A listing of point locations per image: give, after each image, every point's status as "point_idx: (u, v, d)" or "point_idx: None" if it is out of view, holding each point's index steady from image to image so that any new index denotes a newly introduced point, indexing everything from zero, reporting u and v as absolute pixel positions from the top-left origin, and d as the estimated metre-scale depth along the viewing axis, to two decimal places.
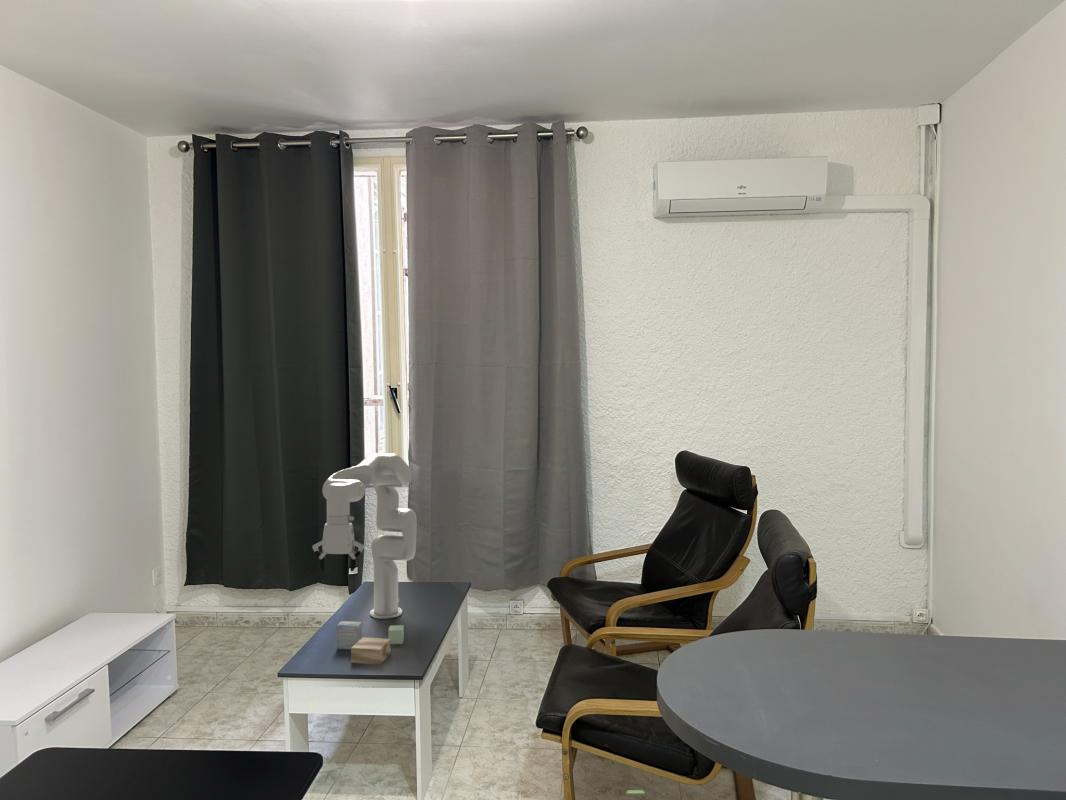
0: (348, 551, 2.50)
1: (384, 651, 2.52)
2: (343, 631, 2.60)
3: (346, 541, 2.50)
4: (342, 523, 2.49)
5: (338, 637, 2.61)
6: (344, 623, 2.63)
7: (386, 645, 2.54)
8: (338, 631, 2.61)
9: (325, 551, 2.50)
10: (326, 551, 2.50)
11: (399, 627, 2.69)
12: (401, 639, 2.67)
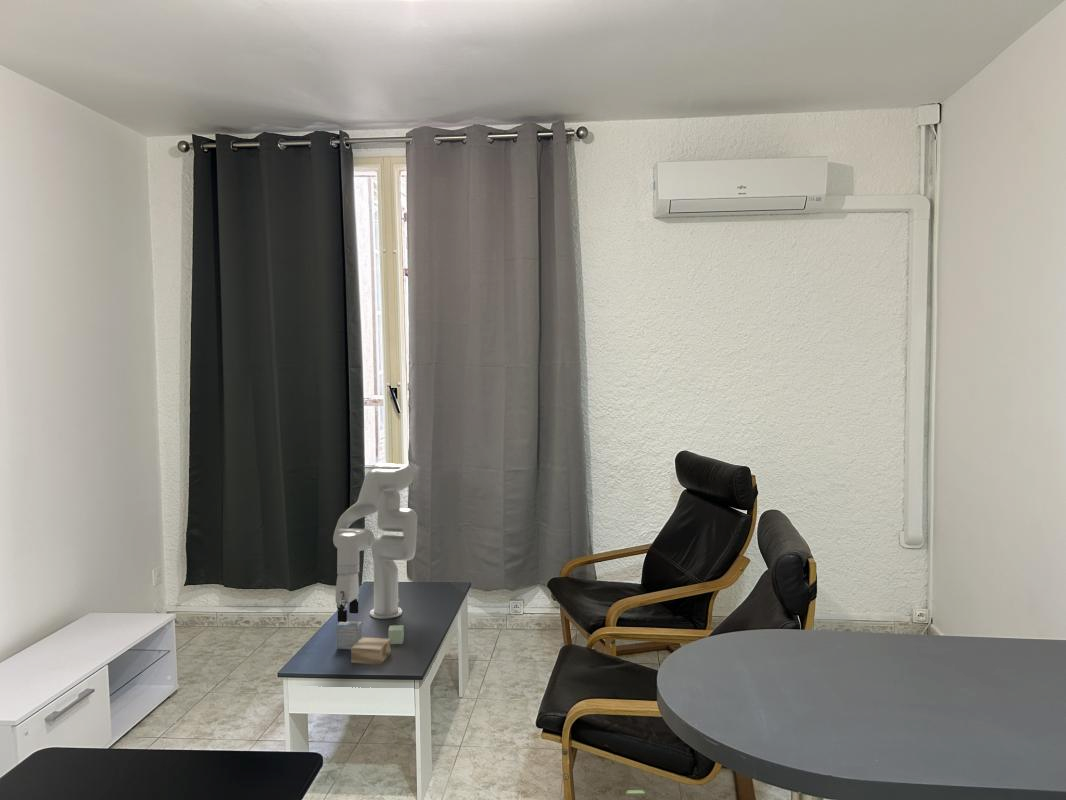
0: (358, 595, 2.65)
1: (384, 651, 2.52)
2: (343, 631, 2.60)
3: (358, 585, 2.64)
4: None
5: (338, 637, 2.61)
6: (344, 623, 2.63)
7: (386, 645, 2.54)
8: (338, 631, 2.61)
9: (349, 601, 2.57)
10: (349, 601, 2.57)
11: (399, 627, 2.69)
12: (401, 639, 2.67)
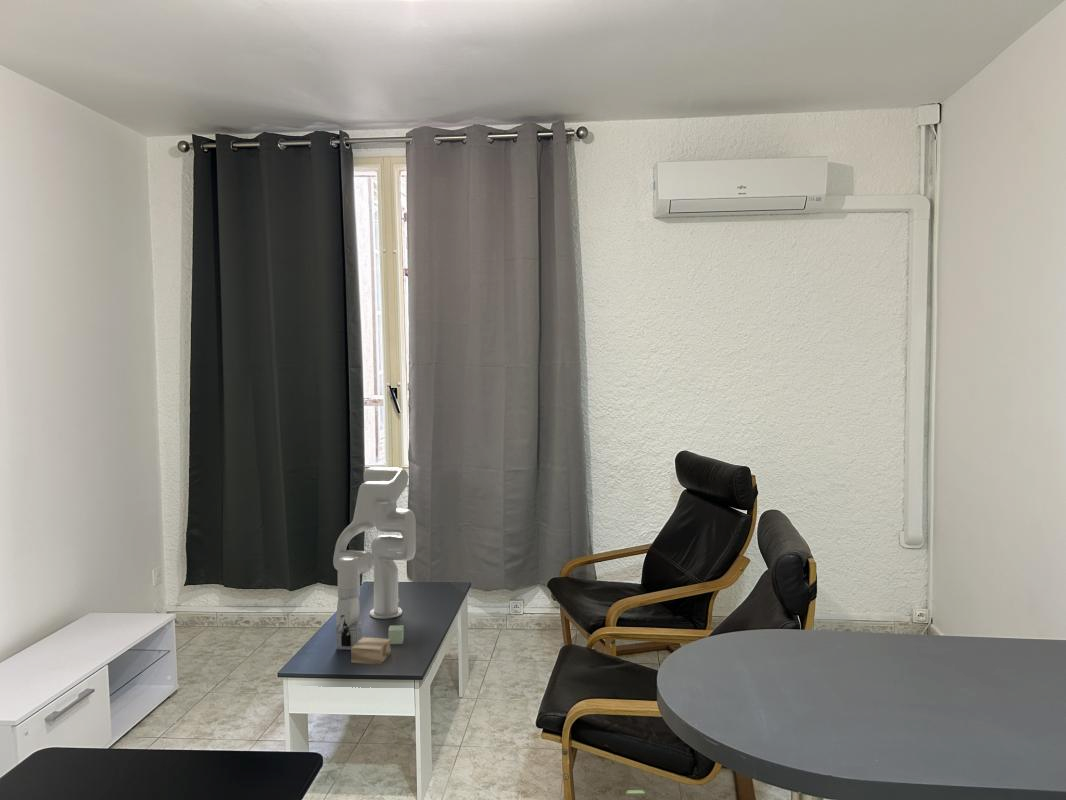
0: (358, 617, 2.66)
1: (384, 651, 2.52)
2: None
3: (358, 608, 2.65)
4: None
5: (337, 637, 2.61)
6: None
7: (386, 645, 2.54)
8: (337, 631, 2.60)
9: (350, 624, 2.58)
10: (350, 624, 2.58)
11: (399, 627, 2.69)
12: (401, 639, 2.67)
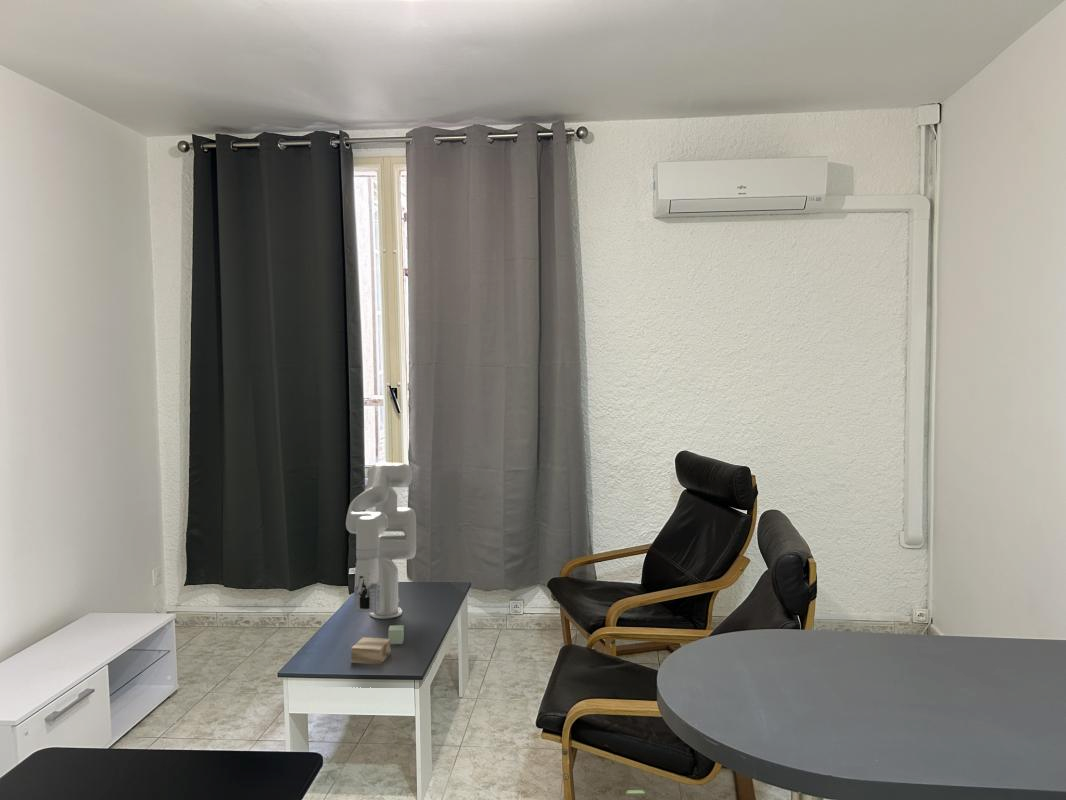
0: (377, 580, 2.57)
1: (384, 651, 2.52)
2: None
3: (377, 570, 2.56)
4: None
5: (356, 599, 2.52)
6: None
7: (386, 645, 2.54)
8: (356, 593, 2.52)
9: (368, 586, 2.49)
10: (369, 586, 2.50)
11: (399, 627, 2.69)
12: (401, 639, 2.67)
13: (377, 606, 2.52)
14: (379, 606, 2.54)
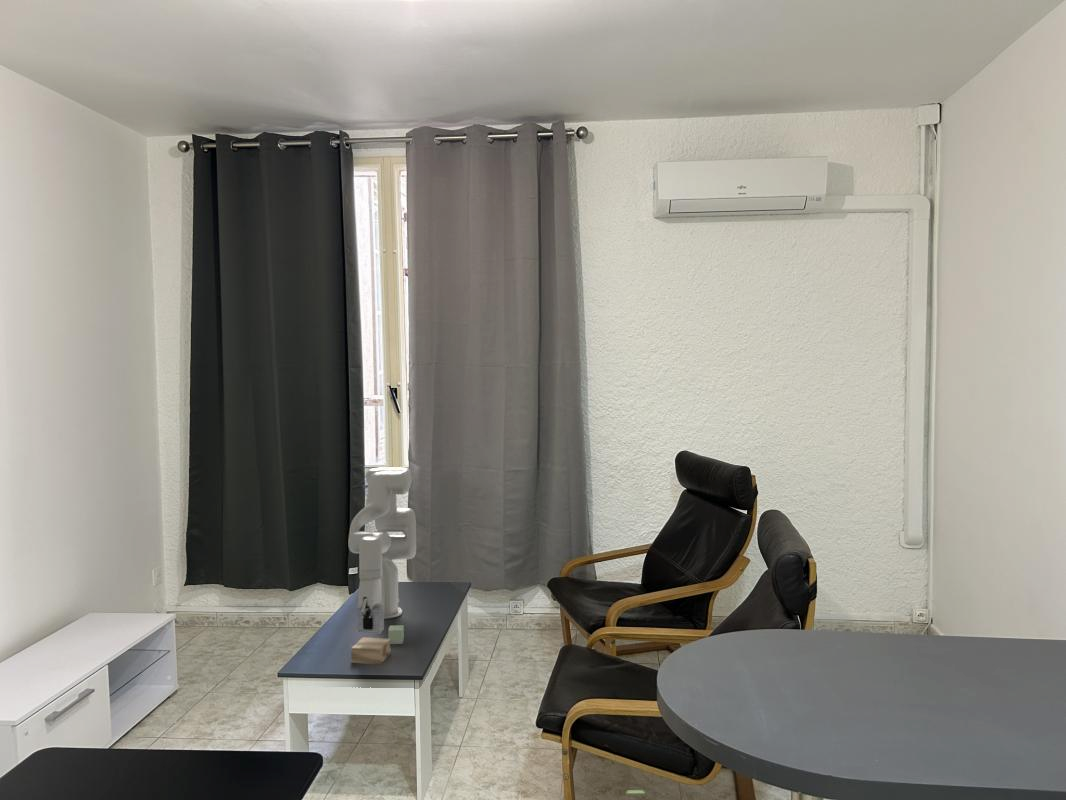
0: (380, 600, 2.56)
1: (384, 651, 2.52)
2: None
3: (380, 590, 2.55)
4: None
5: (359, 620, 2.51)
6: None
7: (386, 645, 2.54)
8: (359, 614, 2.51)
9: (372, 607, 2.49)
10: (372, 606, 2.49)
11: (399, 627, 2.69)
12: (401, 639, 2.67)
13: (381, 626, 2.52)
14: (382, 626, 2.53)
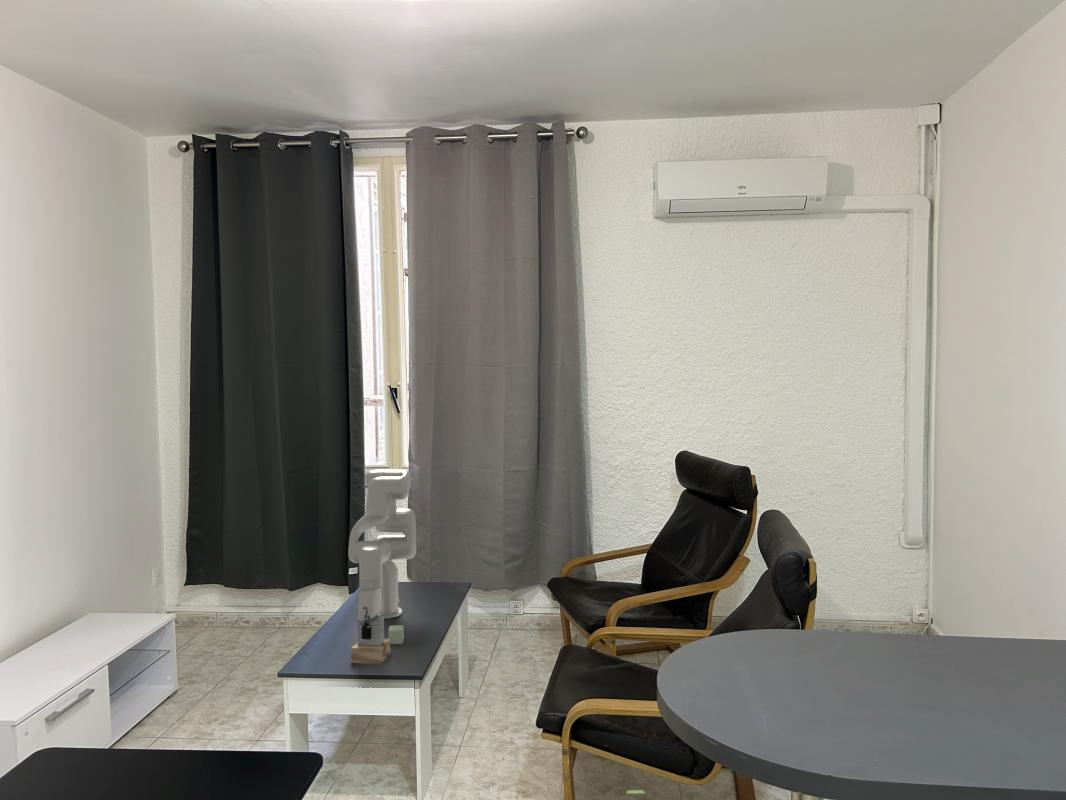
0: (380, 609, 2.56)
1: (384, 651, 2.52)
2: None
3: (380, 600, 2.56)
4: None
5: (359, 632, 2.52)
6: None
7: (386, 645, 2.54)
8: (359, 626, 2.51)
9: (372, 617, 2.49)
10: (372, 616, 2.49)
11: (399, 627, 2.69)
12: (401, 639, 2.67)
13: (380, 639, 2.52)
14: (382, 639, 2.53)
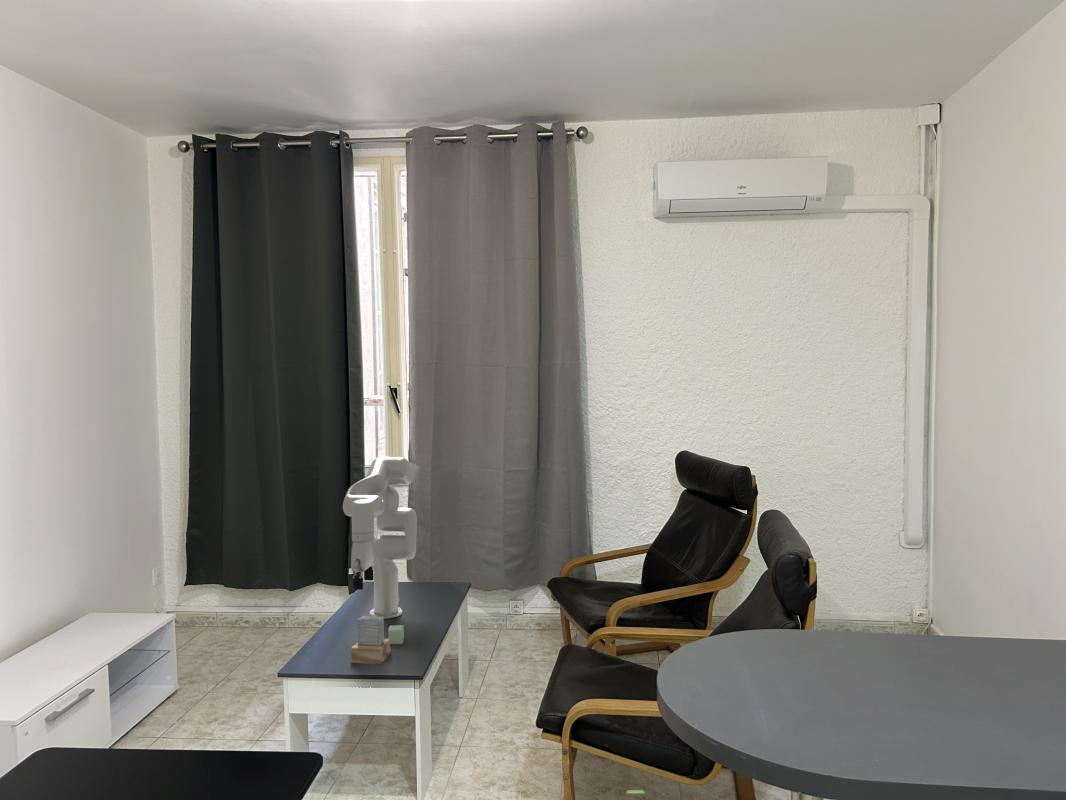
0: (373, 562, 2.61)
1: (384, 651, 2.52)
2: (364, 626, 2.51)
3: (373, 553, 2.60)
4: None
5: (359, 632, 2.52)
6: (365, 617, 2.53)
7: (386, 645, 2.54)
8: (359, 626, 2.51)
9: (365, 568, 2.54)
10: (365, 568, 2.54)
11: (399, 627, 2.69)
12: (401, 639, 2.67)
13: (380, 639, 2.52)
14: (382, 639, 2.53)
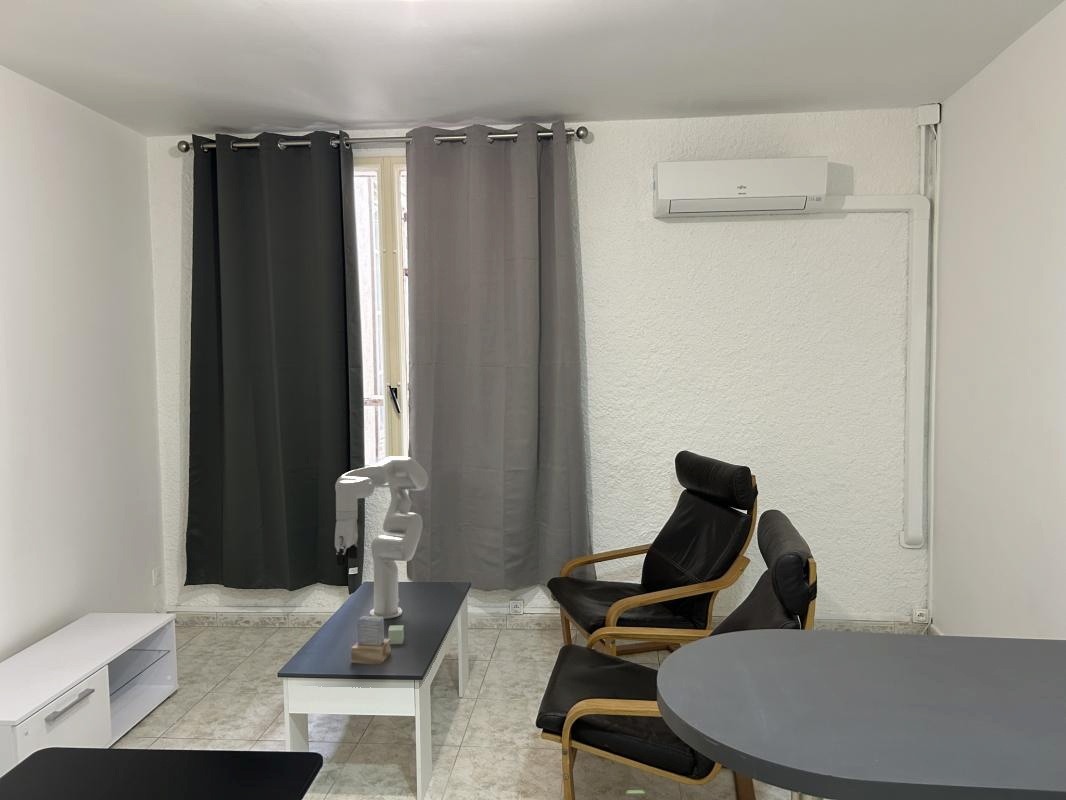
0: (356, 540, 2.73)
1: (384, 651, 2.52)
2: (364, 626, 2.51)
3: (356, 531, 2.72)
4: None
5: (359, 632, 2.52)
6: (365, 617, 2.53)
7: (386, 645, 2.54)
8: (359, 626, 2.51)
9: (348, 545, 2.65)
10: (348, 545, 2.65)
11: (399, 627, 2.69)
12: (401, 639, 2.67)
13: (380, 639, 2.52)
14: (382, 639, 2.53)
